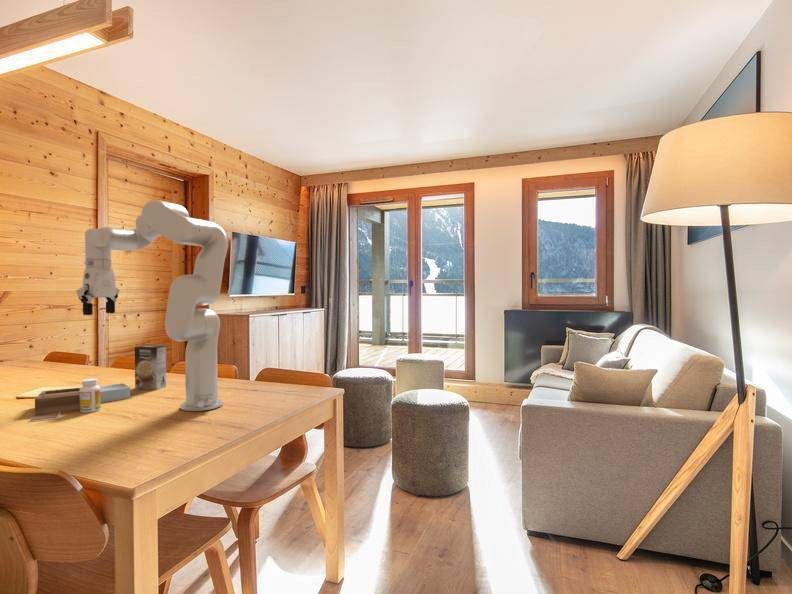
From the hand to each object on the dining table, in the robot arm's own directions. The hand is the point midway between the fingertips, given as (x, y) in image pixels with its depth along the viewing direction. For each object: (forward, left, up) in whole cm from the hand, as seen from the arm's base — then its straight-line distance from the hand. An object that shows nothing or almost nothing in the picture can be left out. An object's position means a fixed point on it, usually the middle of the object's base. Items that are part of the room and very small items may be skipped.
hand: (99, 313), depth 157 cm
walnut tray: (-11, +9, -29) cm, 32 cm away
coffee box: (+7, -15, -29) cm, 34 cm away
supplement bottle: (-19, +2, -29) cm, 35 cm away
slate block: (-4, -4, -29) cm, 30 cm away
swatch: (-21, +12, -29) cm, 38 cm away
